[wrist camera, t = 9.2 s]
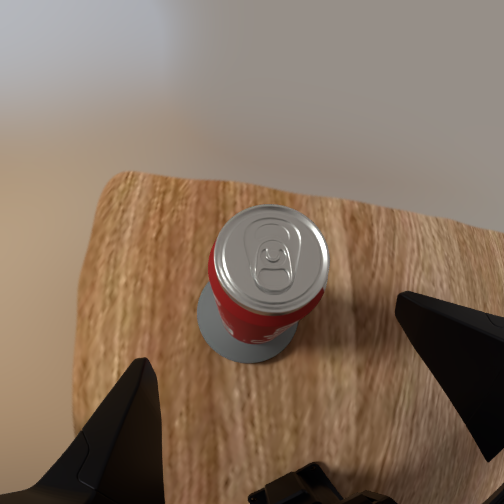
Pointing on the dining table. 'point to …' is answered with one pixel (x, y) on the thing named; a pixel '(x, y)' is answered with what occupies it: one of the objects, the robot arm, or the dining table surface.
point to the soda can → (267, 271)
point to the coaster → (227, 343)
